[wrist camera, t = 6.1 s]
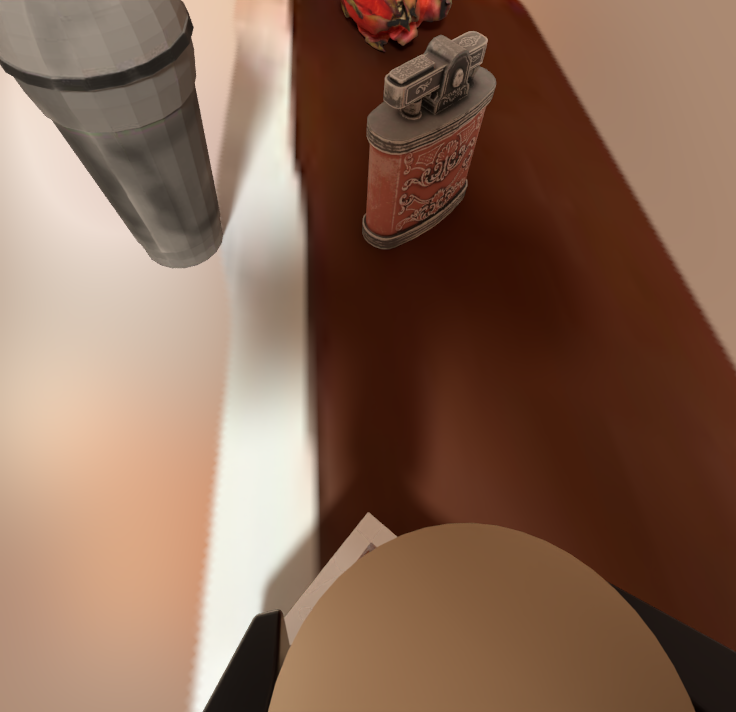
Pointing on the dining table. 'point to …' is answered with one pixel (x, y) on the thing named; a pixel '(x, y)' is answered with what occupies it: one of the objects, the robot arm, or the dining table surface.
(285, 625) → the robot arm
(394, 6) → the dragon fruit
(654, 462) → the dining table surface
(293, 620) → the pin socket
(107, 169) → the beverage cup
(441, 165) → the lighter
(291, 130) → the dining table surface
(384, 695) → the pin
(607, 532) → the dining table surface
